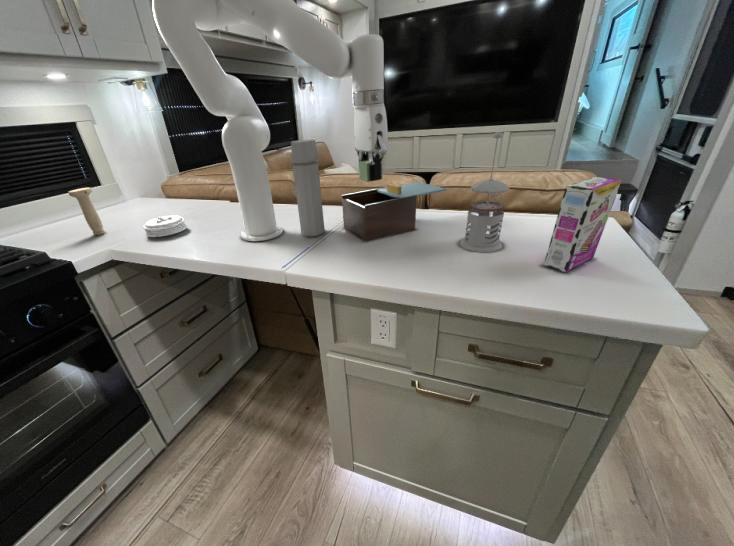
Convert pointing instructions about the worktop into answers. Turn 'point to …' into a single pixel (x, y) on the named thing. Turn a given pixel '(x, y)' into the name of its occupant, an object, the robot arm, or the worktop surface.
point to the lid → (164, 226)
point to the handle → (88, 209)
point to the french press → (485, 216)
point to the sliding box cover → (410, 190)
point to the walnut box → (378, 214)
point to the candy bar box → (581, 222)
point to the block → (365, 170)
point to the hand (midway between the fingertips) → (370, 178)
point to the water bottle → (307, 186)
